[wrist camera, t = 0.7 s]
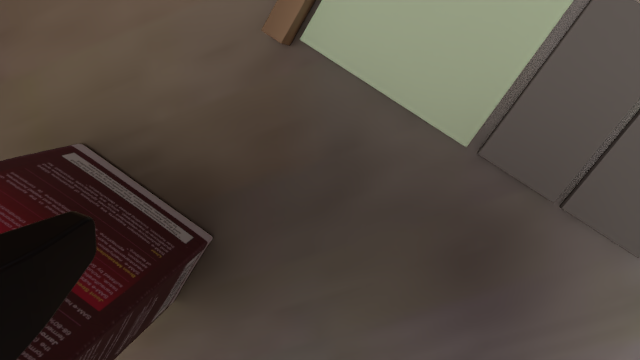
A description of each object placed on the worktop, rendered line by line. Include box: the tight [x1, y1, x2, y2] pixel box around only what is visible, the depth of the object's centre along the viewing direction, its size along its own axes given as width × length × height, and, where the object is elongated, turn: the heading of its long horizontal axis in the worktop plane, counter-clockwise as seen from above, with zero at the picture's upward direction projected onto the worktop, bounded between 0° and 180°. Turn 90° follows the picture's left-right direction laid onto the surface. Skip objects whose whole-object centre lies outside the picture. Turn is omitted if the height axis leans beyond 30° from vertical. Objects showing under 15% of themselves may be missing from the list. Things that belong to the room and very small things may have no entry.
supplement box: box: [0, 144, 213, 360], centre depth 17 cm, size 9×5×16 cm, turn 56°
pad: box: [300, 0, 574, 147], centre depth 20 cm, size 9×8×1 cm
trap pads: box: [477, 0, 640, 258], centre depth 19 cm, size 8×8×1 cm
